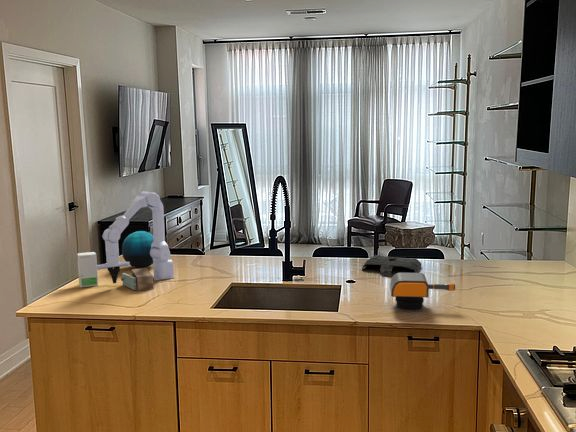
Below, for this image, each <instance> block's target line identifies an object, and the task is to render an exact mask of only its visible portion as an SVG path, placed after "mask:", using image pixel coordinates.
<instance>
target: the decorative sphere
mask: <svg viewBox="0 0 576 432" xmlns="http://www.w3.org/2000/svg"><path fill="white" fill-rule="evenodd" d="M153 241H154V238H153V233H150V232H148V231H146V230H138V231H135V232H132V233H130V234H128V235H127V236H126V237H125V239H124V240H123V242H122V245H121V254H122V258H123V260H124V262H130V266H131V267H133V268H134V269H140V268H148V267H150V266H152V265H153V258H152V257H151V255H150V250H151V244H152V243H153Z"/></svg>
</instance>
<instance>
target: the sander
mask: <svg viewBox="0 0 576 432" xmlns="http://www.w3.org/2000/svg"><path fill="white" fill-rule="evenodd" d="M389 286H390V297H393V298H395V301H396V303H395V304H394V309H396V310H399V311H402V312H404V313H405V312H406V313H407V312H408V313H417V312H423V310H425V309H426V308H425V305H424V298H429V297H430V295H429V290H433V289H434V290H445V291H448V292H454V291H455V290H456V284H455V283H454V282H453V283H452V282H451V283H450V282H448V283H442V284H441V283H434V284H433V283H428V280H427V277H426V275H425V274H424V273H423V272H418V273H415V272H397V273H395V274H393V276H392V277H391V279H390V284H389Z"/></svg>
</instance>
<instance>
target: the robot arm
mask: <svg viewBox="0 0 576 432" xmlns="http://www.w3.org/2000/svg"><path fill="white" fill-rule="evenodd" d="M146 207H148V208H149V209H150V210H151V213H152V214H151V215H152V231H153V232H152V235H153V238H154V241H153V243H152V244H151V250H150V255H151V257H152V258H153V264H152V265H153V268H152V269H153V281H158V280H166V279H174V278H175V276H174V262H173V260H172V259H170V257H171V251H170V249H169V245H168V243H167V242H166V236H165V213H164V210H165V209H164V204H163V202H162V200H161V197H160V195H159V194H158V193H157V192H153V191H152V192H150V191H147V190H145V191H144V190H143V191H140V192H139V193H138V194H137V195H136V196H135V198H134V200H133V201H132V202H131V204H130V205H129V207H128V208H127V209H126V211H125V212H124V213H123V215H118V216H117V217H115V221H114V222H113V223H112V224H111V225H109V226H108V228H106V229H105V230H104V231H103V233H102V235H101V237H102V240H104V244H105V256H106V263H102V264H97V271H99V270H106V269H107V272H108V273H109V275H110V277H111V280H112V281H111V282H112V284H117V279H118V277H119V273H120V271H121V268H123V267H125V268H126V267H130V266H131V265H130V262H126V261H120V251H119V250H120V249H119V240H120V239H121V234H122V233H123V232H124V230H125V229H126V228H127V227H128V226H129V224H130V219H132V218H133V217H134V216H135V214H136V213H137V212H139V210H140V209H141V208H142V209H143V208H146Z"/></svg>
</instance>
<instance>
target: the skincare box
mask: <svg viewBox="0 0 576 432" xmlns="http://www.w3.org/2000/svg"><path fill="white" fill-rule="evenodd" d="M76 255H77V270H78V271H77V273H78V285H79V287H80V288H87V287H88V288H89V287H95V286H99V277H98V270H97V265H98V261H97V253H96V252H95V251H91V252H90V251H87V252H78V253H76Z"/></svg>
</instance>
